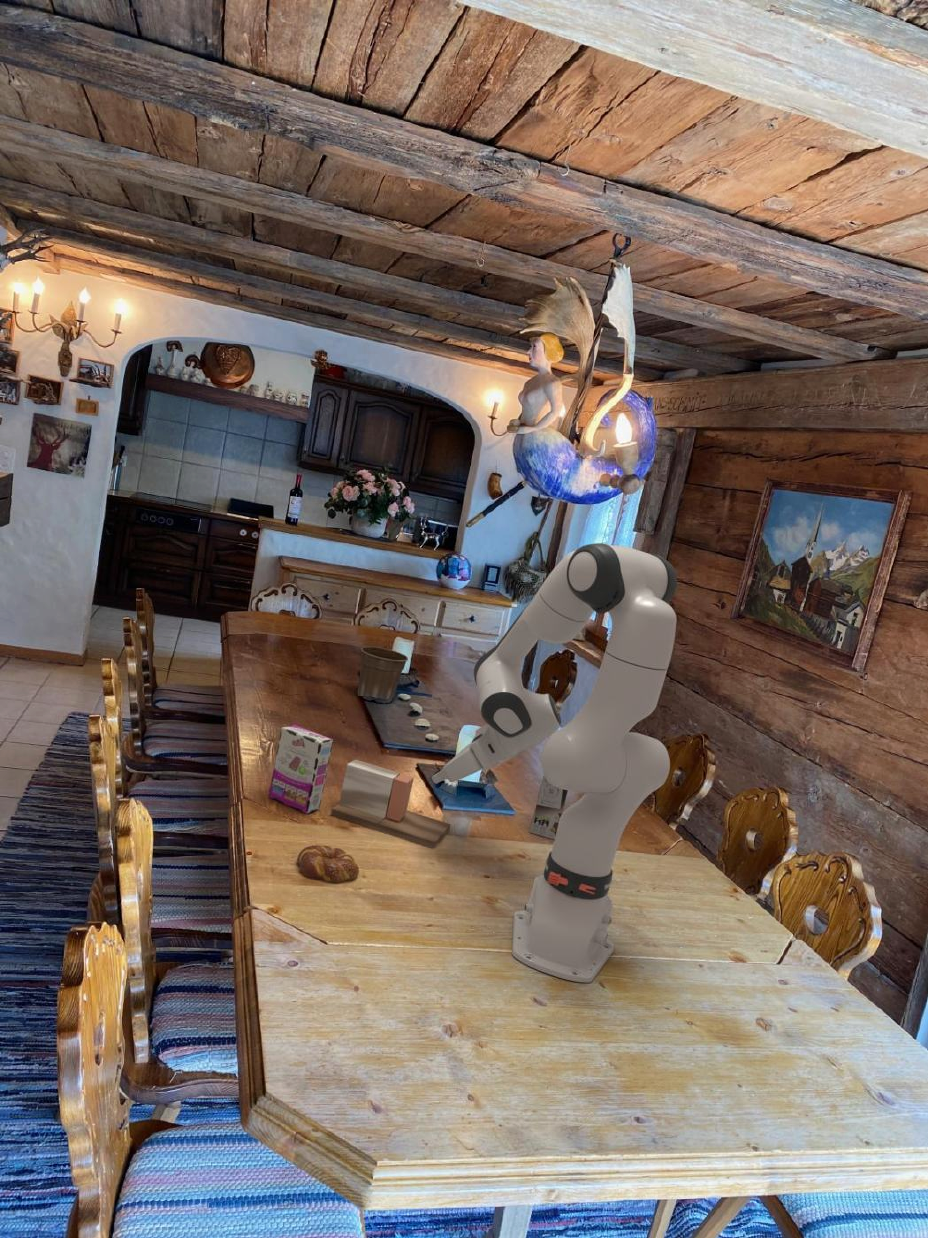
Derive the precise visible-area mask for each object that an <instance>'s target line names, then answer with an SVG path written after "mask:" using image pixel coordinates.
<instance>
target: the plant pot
mask: <svg viewBox="0 0 928 1238" xmlns="http://www.w3.org/2000/svg"><path fill="white" fill-rule="evenodd" d="M360 652H361V655H360V669H359V670H360V671H359V679H358V687H357V693H356V694H357V696H358V697H359V696H372V697H375V698H382V699H391V698H393V697H395V694H396V692H397V688H398V685H399V681H400V678H401V676H402V672H403V671H404V669H405V666H406V663H407V662H408V661H409V657H408V656H407V655H406V654H403V653H402V652H399V651H396V650H393V649H389V648H384V647H379V646H362V647H361V648H360ZM393 699H394V698H393Z"/></svg>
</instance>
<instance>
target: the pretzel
mask: <svg viewBox="0 0 928 1238" xmlns="http://www.w3.org/2000/svg"><path fill="white" fill-rule="evenodd" d="M296 860H297V865H298V866H299V868H300V870H301V872H302V874H303V875H304V876H306V877H308V878H311V879H314V880H324V881H325V882H330V881H331V882H333V883H342V882H345V881H346V880H348V881H351V880H352V881H353V880H355V879H357V877H358V876H359V873H360V869H359V866H358V864H357V863H356V862H355V859H354V857H353V856H352V855H350V854H347V853H346V852H345V851H344V850H343V849H341V848H339V847H334V848H333V847H332V846H329V845H322V844H319V845H318V844H316V845H308V846H306V847H304V848H303V849H301V851H300V852H299V853H298V855H297V858H296Z"/></svg>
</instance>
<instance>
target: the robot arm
mask: <svg viewBox="0 0 928 1238" xmlns="http://www.w3.org/2000/svg"><path fill="white" fill-rule="evenodd" d="M677 587H678V575H677V573H676V569H675V568H674V567H673V564H671V563H670V562H669V561H668V560H667V559H666V558H664V557H661V556H660V555H658V554H655V553H652V552H648V553H647V552H644V551H642V550H638V549H636V548H633V547H630V546H624V545H615V544H606V543H603V542H600V543H599V542H597V543H596V542H595V543H589V544H585V545H582V546H580V547H579V548H577V549H576V550H572V551H570V552H569V553H567V554H566V555H565V556H564V557H562V559H561V560H560V561H559V562H558V564H557V565H555V567H554V568H553V570H551V572H550V573H549V574H548V576H547V577H546V578H545V580H544V581H543V583H542V584H541V586H540V588H539V589H538V591H537V592H536V594H535V595H534V597H533V599H532V600H531V602H530V603H529V604H528V605H527V606H526V607H525V608H524V609H523V610H522V611H521V612H520V614H518V616H517V618H516V619H514V622H513V623H512V624H511V626H509V628H508V630H506V632H505V633H504V635H503V636H502V637H501V639H500V640H499V642H497V644H495V646H494V647H493V648H491V649H490V650H488V651H487V652H485V653H484V654H483V655H482V656H481V657H480V658H479V659H478V660H477V662H476V663H475V665H474V667H473V679H474V682H475V686H476V690H477V691H476V692H477V699H478V700H477V701H478V704H479V705H478V706H479V711H480V714H481V717H482V719H483V721H484V722H485V723H486V724H484V725H482V726H481V727H478V728H477V729H476V730H475V735H474V736H473V738H472V741H471V742H470V743H468V744H467V745H466V746H465V747H464V748H462V749H461V750H460V751H459V752H458V753H457V754H456V755H455V756H453V758H452V759H450V760H449V761H448V762H446V763H445V764H444V766H443V767H442V770H440V771H438V772H436V773H435V774H433V775H432V776H431V779H432V781H433V783H434V784H438V783H440V782H442V781H446V780H448V781H449V783H454V782H457V781H460V780H462V779H465V778H466V777H470V776H471V775H474V774H476V773H478V772H479V771H482V770H483V769H484V771H487V770H489V769H492V768H493V767H498V766H500V765H502V764H503V763H505V762H507V761H508V760H510V759H513V758H514V757H515V758H516V756H517V755H518V754H520V753H521V752H523V750H525V749H529V748H533V747H535V746H537V745H538V744H539V743H542V742H543V741H544V742H543V745H542V748H541V751H540V759H539V760H540V767H541V768H540V769H541V772H542V774H543V776H545V778H546V780H547V781H548V782H549V783H550V784H551V785H553V786H555V787H558V788H561V789H564V790H568V792H573V793H582V794H583V793H584V794H583V796H582V797H581V798H579V800H578V801H576V802H575V803H573V804H571V805H570V806H569V807H567V808H566V809H565V810H563V812H562V815H561V817H560V820H559V824H558V828H557V832H556V836H555V839H554V840H553V845H552V849H551V851H549V853H548V856H547V858H546V860H545V865H544V869H543V870H544V871H543V874H541V875H539V876H537V877H535V878H534V882H533V885H532V889H531V893H530V896H529V900H528V903H526V904H525V906H524V910H516V911H515V912H514V915H513V916H512V917H513V921H512V944H511V945H512V948H511V951H512V952H511V953H512V954H511V955H512V956H513V957H514V958H515V959H517V960H518V961H519V962H521V963H522V964H525V965H526V966H529V967H531V968H532V969H535V970H537V971H540V972H542V973H545V974H548V975H550V976H554V977H556V978H560V979H564V980H566V981H567V980H568V981H571V982H577V983H591V982H592V981H593V980H594V979H595V977H597V975H598V974H599V972H600V970H601V969H602V968H603V967H604V965H605V964H606V962H607V961H608V960H609V958H610V957H611V955H612V954H614V953H613V952H614V950H615V943H613V941H611V940H610V939H608V937H609V932H608V928H609V925H610V924H611V922H612V919H613V917H611V916H612V911H613V907H614V903H613V900H611V898H610V896H609V890H610V887H611V885H612V881H613V873H614V872H613V869H612V868H613V865H614V862H615V861H614V860H615V857H616V853H617V850H618V848H619V847H618V846H619V844H620V841H621V837H622V834H623V832H624V830H625V828H626V827H627V824H628V823H629V821H630V819H631V818H632V816H633V815H634V813H635V812H636V810H637V809H638V808H639V806H640V805H641V804H642V803H643V802H644V801H645V799H647V797H648V796H649V795H650V794H652V793H653V792H655V791H656V790H658V789H659V788H661V787H662V786H663V785H664V784H665V782H666V781H667V779H668V777H669V774H670V769H671V760H670V756H669V752H668V750H667V748H666V746H665V745H664V743H662V742H661V741H660V740H659V739H656V738H654V737H651V736H648V735H645V734H642V733H639V732H632V731H631V729H632V728H633V727H635V725H637V723H638V722H640V721H642V720H644V719H645V718H647V717H648V716H650V715H651V714H652V713H653V712H654V711H655V710H656V707H657V705H658V702H659V698H660V696H661V692H662V689H663V685H664V681H665V680H666V679H665V678H666V675H667V671H668V669H669V666H670V663H671V658H672V653H673V650H674V645H675V638H676V631H677V629H676V628H677V615H676V612H675V610H674V609H673V608H672V606H671V605H670V604H669V603H671V601H672V600H673V597H674V596H675V594H676V592H677ZM594 612H595V613H597V614H598V615H602V614H605V613H608V614H609V617H610V620H611V630H610V636H609V638H608V640H607V645H606V648H605V651H604V654H603V657H602V661H601V664H600V668H599V670H598V673H597V677H596V680H595V682H594V685H593V688H592V689H591V692H590V694H589V696H588V698H587V699H586V701H585V703H584V704H583V705H582V707H581V708H580V709H579V711H578V712H577V713H576V714H575V716H574V717H573V718H572V719H571V720H570V721H569V722H568V723H566V724H565V725H564V726H563V727H561V725H562V719H561V713H560V710H559V708H558V705H557V703H556V701H555V699H554V698H553V697H552V695H550V693H545V694H544V693H543V694H542V693H536V692H533V691H532V690H528V689H527V688H525V687H524V685H523V679H522V667H523V666H522V665H523V662H524V659H525V658H526V657H527V656H528V655H529V653H530V651H532V648H534V647H535V645H536V644H537V642H538V641H539V640H540V641H542V642H545V643H549V644H552V645H553V644H554V645H560V644H562V645H563V644H566V643H570V642H571V641H572V640H573V639H575V638H576V637H577V636H578V635H579V634H580V633H581V631H582V630H583V629H584V627H585V625H586V624H587V623H588V621H589V620H590V618H591V616H593V613H594ZM630 731H631V732H630Z"/></svg>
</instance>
